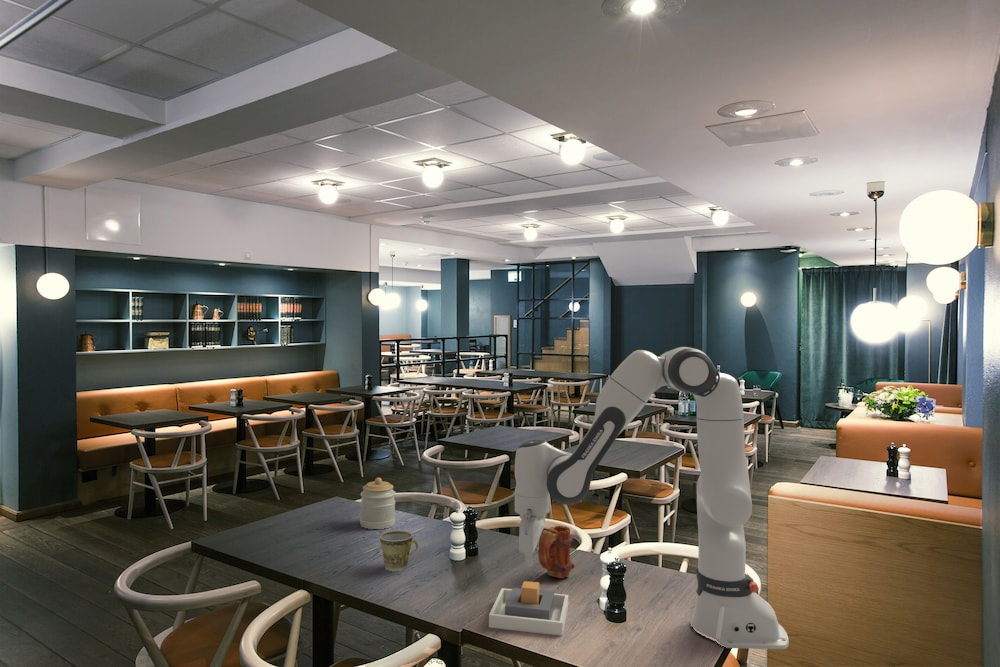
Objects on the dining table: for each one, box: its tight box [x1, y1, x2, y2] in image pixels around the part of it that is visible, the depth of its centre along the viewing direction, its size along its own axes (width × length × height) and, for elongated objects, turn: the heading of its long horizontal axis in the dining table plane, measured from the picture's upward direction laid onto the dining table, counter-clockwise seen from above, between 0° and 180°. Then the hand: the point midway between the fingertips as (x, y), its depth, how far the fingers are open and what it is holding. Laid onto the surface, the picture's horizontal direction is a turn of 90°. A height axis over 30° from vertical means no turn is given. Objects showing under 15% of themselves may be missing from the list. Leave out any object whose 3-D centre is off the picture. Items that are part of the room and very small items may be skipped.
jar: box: [359, 477, 396, 530], centre depth 231 cm, size 13×13×18 cm
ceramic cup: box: [379, 529, 419, 573], centre depth 189 cm, size 13×10×10 cm
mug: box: [537, 525, 575, 579], centre depth 184 cm, size 15×8×15 cm, turn 141°
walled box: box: [488, 587, 569, 637], centre depth 157 cm, size 18×16×4 cm
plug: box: [521, 580, 540, 604], centre depth 157 cm, size 4×4×8 cm
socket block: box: [505, 587, 555, 620], centre depth 157 cm, size 11×11×4 cm
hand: (532, 558), depth 157 cm, fingers open, 8 cm apart
